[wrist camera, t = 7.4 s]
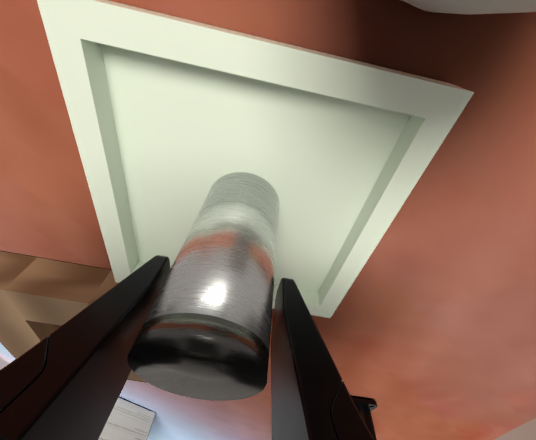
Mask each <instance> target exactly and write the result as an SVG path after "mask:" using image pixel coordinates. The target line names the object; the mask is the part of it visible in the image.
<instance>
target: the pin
mask: <svg viewBox="0 0 536 440" xmlns="http://www.w3.org/2000/svg"><path fill="white" fill-rule="evenodd" d="M279 206H280V203H279V198H278V195H277V193H276V191H275V189H274V188H273V187H272V185H271V184H270V183H269V182H267V181H266V180H265V179H263V178H261V177H260V176H257V175H255V174H251V173H246V172H234V173H230V174H227V175H224V176H222V177H221V178H219V179H218V180H217V181H216V182H215V183H214V184H213V185H212V187H211V189H210V191H209V193H208V195H207V197H206V199H205V201H204V203H203V205H202V207H201V209H200V211H199V213H198V215H197V217H196V219H195V221H194V223H193V225H192V227H191V229H190V231H189V233H188V235H187V237H186V239H185V241H184V243H183V245H182V247H181V249H180V251H179V253H178V255H177V257H176V259H175V261H174V263H173V265H172V267H171V269H170V271H169V273H168V275H167V277H166V279H165V281H164V283H163V285H162V287H161V289H160V291H159V293H158V295H157V297H156V299H155V301H154V303H153V305H152V307H151V309H150V311H149V313H148V316H147V318H146V320H145V322H144V324H143V326H142V328H141V330H140V332H139V334H138V336H137V338H136V340H135V342H134V344H133V346H132V348H131V350H130V352H129V354H128V357H127V361H128V364H129V366H130V368H131V369H132V371H133V372H134V373H135V374H136V375H138V376H139V377H140V378H141V379H143V380H145V381H146V382H148V383H150V384H152V385H154V386H156V387H158V388H160V389H163V390H166V391H168V392H171V393H175V394H178V395H182V396H186V397H191V398H197V399H205V400H237V399H243V398H247V397H250V396H253V395H255V394H257V393H259V392H261V391H262V390H263V389H264V387H265V386H266V383H267V373H268V359H269V345H270V331H271V317H272V304H273V290H274V276H275V262H276V248H277V235H278V221H279Z"/></svg>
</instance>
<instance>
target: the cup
mask: <svg viewBox="0 0 536 440" xmlns="http://www.w3.org/2000/svg"><path fill="white" fill-rule="evenodd" d="M401 1H404V2H406V3H408V4H410V5H413V6H415V7H417V8H419V9H421V10H424V11H428V12H435V13H452V14H468V15H472V14H498V13H524V12H536V0H401Z"/></svg>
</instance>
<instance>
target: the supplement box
mask: <svg viewBox="0 0 536 440" xmlns="http://www.w3.org/2000/svg"><path fill="white" fill-rule="evenodd" d="M154 416H155V412H152V411H149V410H147V409H145V408H142V407H140V406H138V405H135V404H133V403H131V402H128V401H126V400H123V399H121V398H119V397H118V399H117V401H116V403H115V405H114V408H113V410H112V412H111V414H110V416H109V418H108V420H107V422H106V424H105V426H104V429H103V431H102V433H101V435H100V437H99V439H98V440H147V438H148V435H149V432H150V429H151V426H152V423H153V419H154Z"/></svg>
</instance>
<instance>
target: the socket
mask: <svg viewBox="0 0 536 440" xmlns="http://www.w3.org/2000/svg"><path fill="white" fill-rule="evenodd" d="M117 284H118V283H117V282H115V279H114V275H113V272H112V270H109V269H103V268H97V267H91V266H85V265H79V264H74V263H68V262H62V261H56V260H50V259H44V258H38V257H33V256H27V255H21V254H15V253H9V252H3V251H0V342H1V343H2V345H3V346H4V347H5V348H6V349H7V350H8V351H9V352H10V353H11V354H12V355H13V356H14V357H15V358H16V359H17V358H18V357H20V356H21V355H22V354H24V353H25V352H27V351H28V350H29V349H31V348H32V347H33V346H35V345H36V344H37V343H39V342H40V341H42V340H43V339H44V338H46V337H49V336H50V334H51V333H52V332H54V331H55V330H56V329H58V328H59V327H60V326H62V325H63V324H64V323H66V322H67V321H68V320H70V319H71V318H72V317H74V316H75V315H77V314H78V313H79V312H81V311H82V310H83V309H85V308H86V307H87V306H89V305H90V304H91V303H93V302H94V301H95V300H97V299H98V298H99V297H101V296H102V295H103V294H105V293H106V292H107V291H109V290H110V289H111V288H113V287H114V286H115V285H117ZM127 380H133V381H140V382H146V381H145V380H143V379H141V378H140V377H139V376H138V375H136V374H135V373H134V372H133V371H132V370H131V372H130V374H129V376H128V378H127ZM147 383H148V382H147Z"/></svg>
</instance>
